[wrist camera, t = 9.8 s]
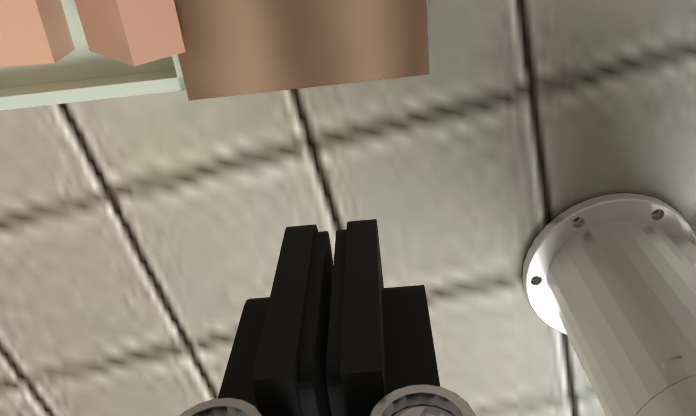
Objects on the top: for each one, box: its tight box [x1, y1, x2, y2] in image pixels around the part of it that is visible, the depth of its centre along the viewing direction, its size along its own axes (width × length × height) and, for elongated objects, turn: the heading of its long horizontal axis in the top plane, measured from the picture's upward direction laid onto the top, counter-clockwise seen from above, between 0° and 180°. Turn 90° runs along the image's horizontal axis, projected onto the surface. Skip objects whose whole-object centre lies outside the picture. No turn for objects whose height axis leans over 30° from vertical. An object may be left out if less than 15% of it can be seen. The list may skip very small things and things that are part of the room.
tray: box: [0, 0, 186, 110], centre depth 36 cm, size 15×11×2 cm
